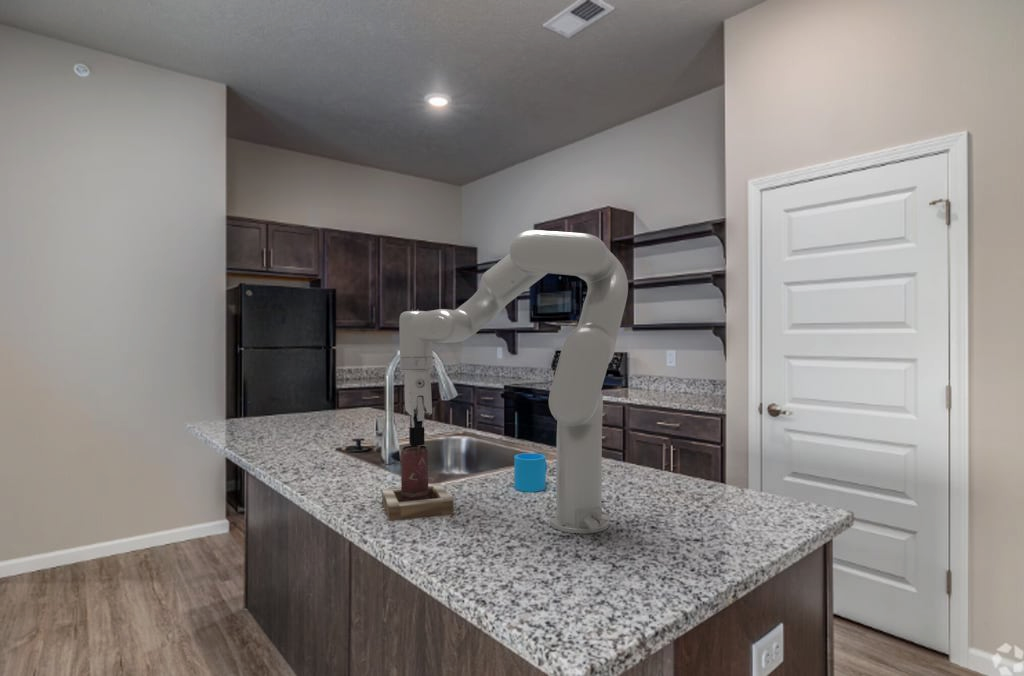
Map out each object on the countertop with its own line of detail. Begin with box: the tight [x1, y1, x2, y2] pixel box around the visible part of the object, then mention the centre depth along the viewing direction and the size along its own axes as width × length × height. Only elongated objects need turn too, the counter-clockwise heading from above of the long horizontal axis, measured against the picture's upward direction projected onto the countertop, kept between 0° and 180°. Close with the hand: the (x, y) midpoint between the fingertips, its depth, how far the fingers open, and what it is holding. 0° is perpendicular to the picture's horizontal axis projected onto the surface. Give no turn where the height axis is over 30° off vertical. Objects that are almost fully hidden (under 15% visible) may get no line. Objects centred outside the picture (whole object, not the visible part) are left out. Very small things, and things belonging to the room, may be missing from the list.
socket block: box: [381, 483, 454, 522], centre depth 126 cm, size 14×14×3 cm
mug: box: [513, 452, 548, 493], centre depth 145 cm, size 12×8×8 cm
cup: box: [400, 445, 429, 502], centre depth 127 cm, size 6×6×14 cm
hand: (416, 444), depth 126 cm, fingers closed
